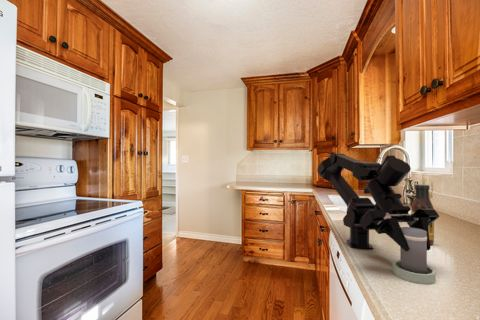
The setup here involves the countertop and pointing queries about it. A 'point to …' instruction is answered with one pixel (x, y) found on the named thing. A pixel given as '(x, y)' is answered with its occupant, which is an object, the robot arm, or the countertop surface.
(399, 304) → the countertop surface
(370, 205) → the robot arm
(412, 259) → the grey upright cylinder
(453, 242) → the countertop surface
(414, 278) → the collar ring
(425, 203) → the sauce bottle
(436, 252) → the countertop surface
